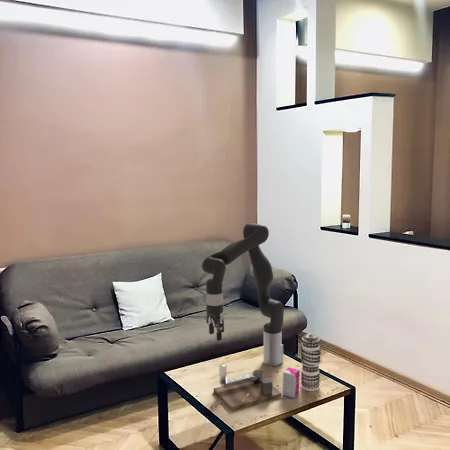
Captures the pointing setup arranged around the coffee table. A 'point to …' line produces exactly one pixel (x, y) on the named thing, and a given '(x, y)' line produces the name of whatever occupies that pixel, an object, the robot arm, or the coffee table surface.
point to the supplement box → (291, 383)
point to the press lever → (225, 383)
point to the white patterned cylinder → (310, 362)
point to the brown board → (247, 394)
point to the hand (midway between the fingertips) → (215, 336)
